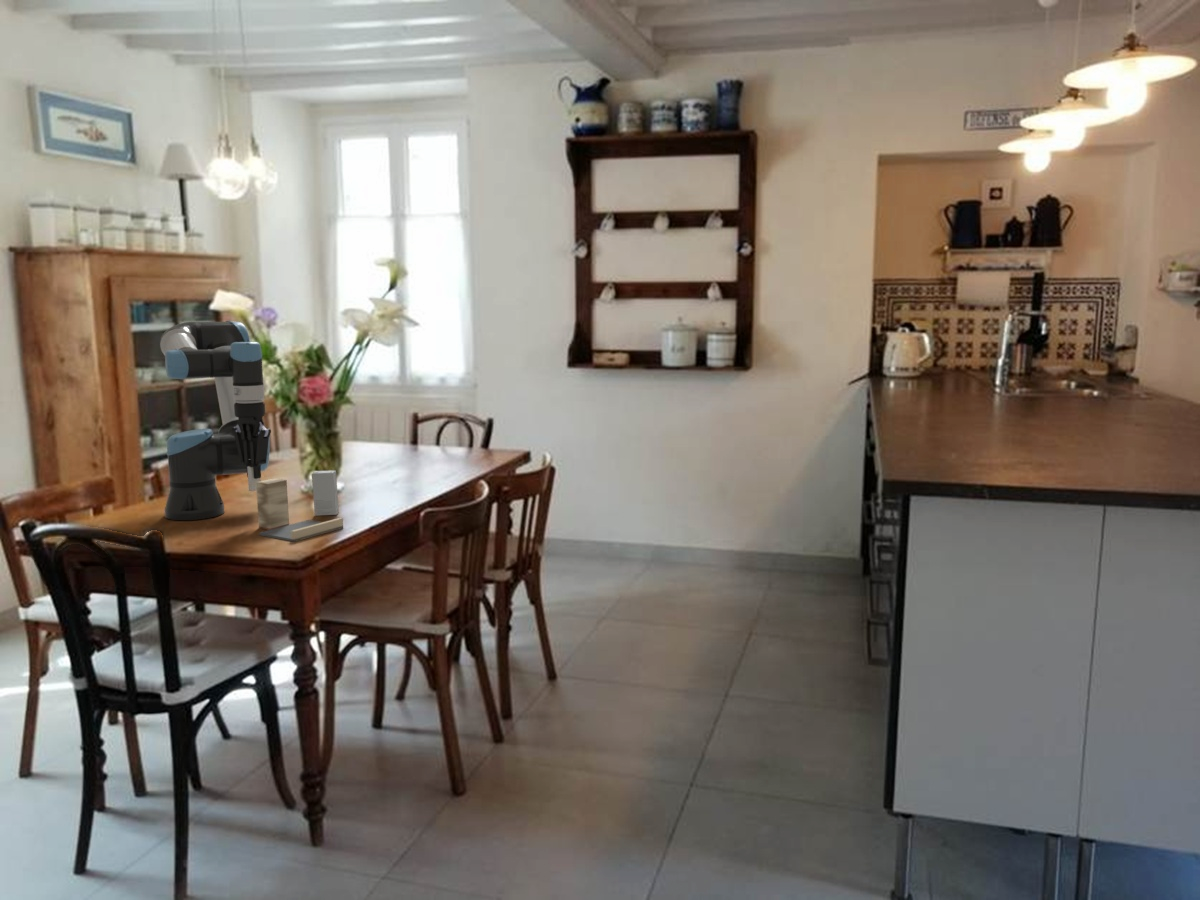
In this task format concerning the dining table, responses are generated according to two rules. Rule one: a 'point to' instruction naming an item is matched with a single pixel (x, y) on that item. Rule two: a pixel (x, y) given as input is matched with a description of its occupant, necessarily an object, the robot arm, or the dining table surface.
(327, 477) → the skincare box
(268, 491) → the beech block
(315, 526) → the slate mat
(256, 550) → the dining table surface
